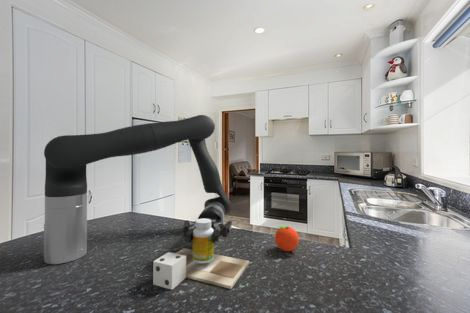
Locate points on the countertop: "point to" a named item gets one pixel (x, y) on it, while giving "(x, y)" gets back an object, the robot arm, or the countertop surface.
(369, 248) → the countertop surface
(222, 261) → the board
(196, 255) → the supplement bottle
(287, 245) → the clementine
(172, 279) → the die
